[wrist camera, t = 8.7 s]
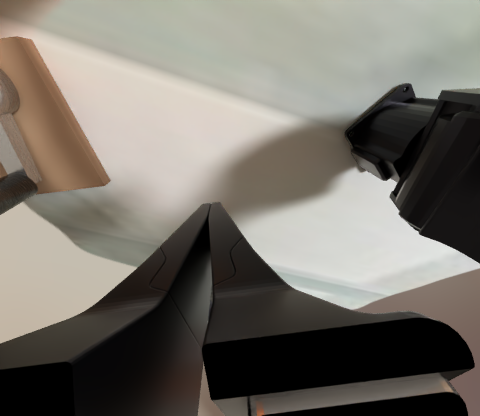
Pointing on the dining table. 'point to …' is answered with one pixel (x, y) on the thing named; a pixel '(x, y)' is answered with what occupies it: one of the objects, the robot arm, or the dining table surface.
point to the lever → (14, 152)
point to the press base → (48, 123)
